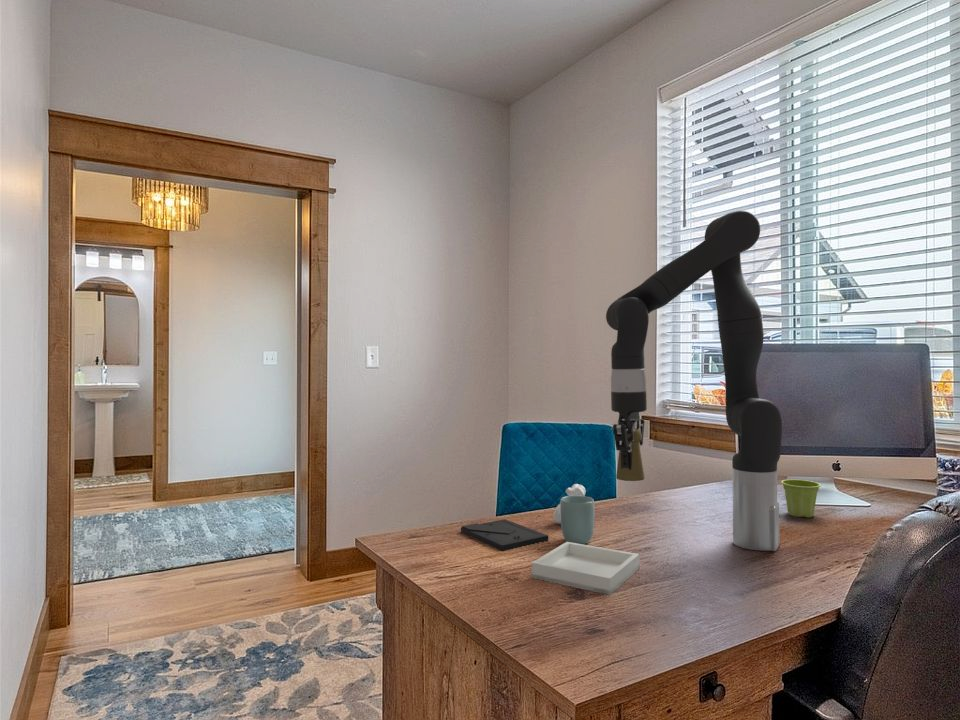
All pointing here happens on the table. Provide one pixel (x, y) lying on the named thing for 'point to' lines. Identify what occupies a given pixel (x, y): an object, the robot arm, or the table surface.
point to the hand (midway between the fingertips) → (630, 467)
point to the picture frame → (503, 534)
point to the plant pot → (800, 497)
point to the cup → (577, 518)
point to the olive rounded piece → (637, 467)
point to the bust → (574, 491)
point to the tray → (586, 567)
